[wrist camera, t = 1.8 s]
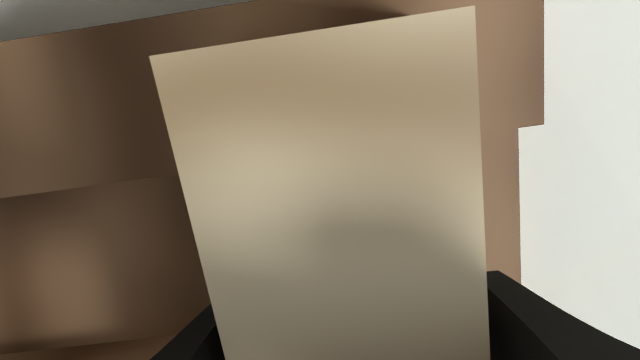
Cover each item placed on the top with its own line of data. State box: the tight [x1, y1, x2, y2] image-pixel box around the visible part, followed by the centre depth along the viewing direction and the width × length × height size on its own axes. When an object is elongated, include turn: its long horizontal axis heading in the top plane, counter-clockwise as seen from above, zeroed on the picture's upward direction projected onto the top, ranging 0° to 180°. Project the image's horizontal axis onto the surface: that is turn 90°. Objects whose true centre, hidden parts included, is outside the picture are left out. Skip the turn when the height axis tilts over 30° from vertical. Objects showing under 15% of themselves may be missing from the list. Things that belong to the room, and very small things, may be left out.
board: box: [0, 0, 544, 360], centre depth 17 cm, size 22×16×3 cm
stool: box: [149, 5, 490, 360], centre depth 12 cm, size 14×5×6 cm, turn 8°
